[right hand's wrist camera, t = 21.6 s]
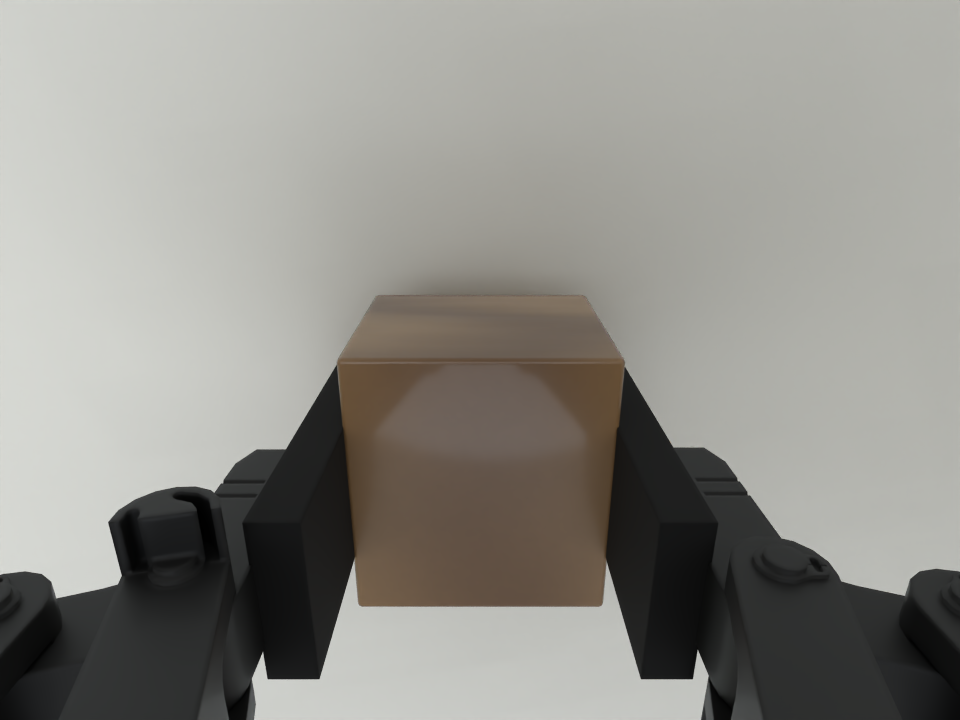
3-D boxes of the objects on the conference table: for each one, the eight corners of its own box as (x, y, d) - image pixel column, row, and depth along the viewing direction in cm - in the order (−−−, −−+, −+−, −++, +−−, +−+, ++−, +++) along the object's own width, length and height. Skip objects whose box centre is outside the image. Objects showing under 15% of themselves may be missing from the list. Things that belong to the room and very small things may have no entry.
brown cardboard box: (387, 490, 16) (357, 608, 12) (375, 294, 14) (334, 359, 10) (572, 490, 16) (603, 608, 12) (586, 294, 14) (626, 360, 10)
